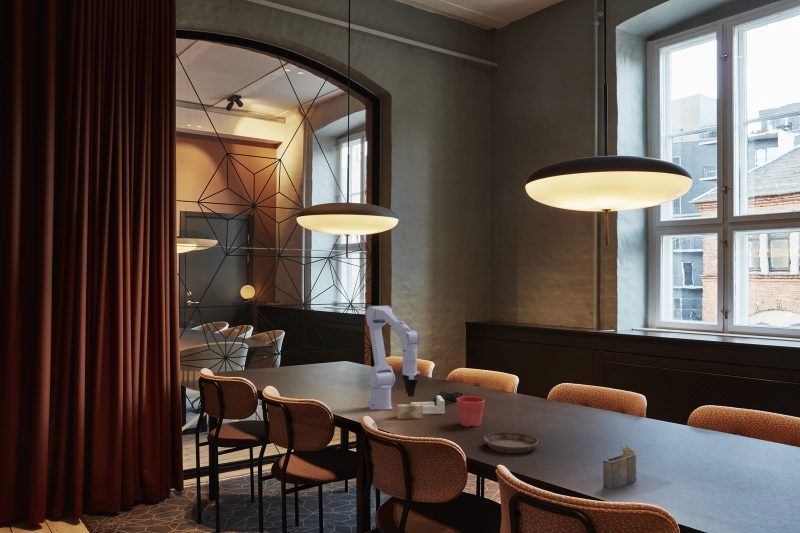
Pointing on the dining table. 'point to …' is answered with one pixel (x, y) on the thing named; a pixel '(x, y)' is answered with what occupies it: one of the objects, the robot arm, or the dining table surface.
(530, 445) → the plant saucer
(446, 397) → the decorative element
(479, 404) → the flower pot
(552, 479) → the dining table surface
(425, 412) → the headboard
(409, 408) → the tan block
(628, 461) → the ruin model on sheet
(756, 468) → the dining table surface
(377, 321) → the robot arm
